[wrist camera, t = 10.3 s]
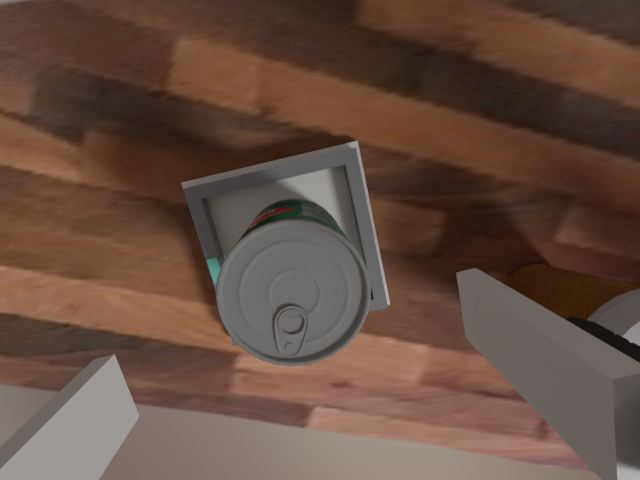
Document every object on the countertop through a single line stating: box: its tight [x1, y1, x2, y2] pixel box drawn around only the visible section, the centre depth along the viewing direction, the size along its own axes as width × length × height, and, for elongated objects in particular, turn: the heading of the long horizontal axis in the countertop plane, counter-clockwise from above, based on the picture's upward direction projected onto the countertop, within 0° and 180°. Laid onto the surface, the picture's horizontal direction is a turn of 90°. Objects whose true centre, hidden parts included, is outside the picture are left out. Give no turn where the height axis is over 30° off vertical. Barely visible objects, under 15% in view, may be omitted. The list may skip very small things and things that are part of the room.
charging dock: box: [181, 141, 390, 346], centre depth 28 cm, size 14×14×2 cm
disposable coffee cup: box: [504, 264, 640, 346], centre depth 26 cm, size 10×10×12 cm
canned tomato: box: [216, 198, 371, 366], centre depth 23 cm, size 8×8×11 cm
